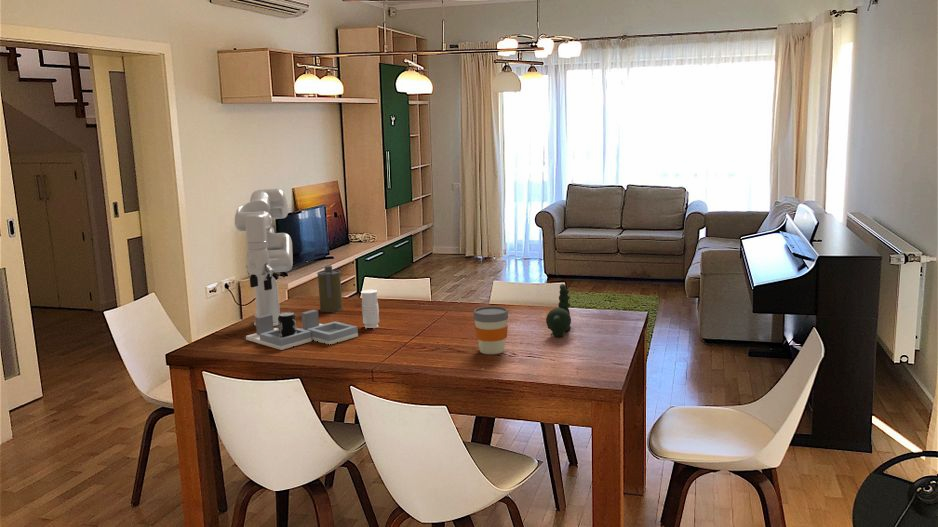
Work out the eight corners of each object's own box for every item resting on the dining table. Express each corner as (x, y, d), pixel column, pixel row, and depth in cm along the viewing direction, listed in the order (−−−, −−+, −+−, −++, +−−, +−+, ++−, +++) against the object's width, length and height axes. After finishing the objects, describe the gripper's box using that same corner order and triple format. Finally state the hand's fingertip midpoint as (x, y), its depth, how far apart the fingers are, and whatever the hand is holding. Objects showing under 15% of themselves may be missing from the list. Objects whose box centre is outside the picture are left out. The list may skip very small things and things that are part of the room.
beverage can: (292, 346, 294) (290, 316, 291) (277, 346, 295) (274, 315, 293) (300, 341, 300) (297, 311, 298) (284, 341, 301) (282, 311, 299)
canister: (320, 307, 354) (317, 264, 350) (343, 305, 355) (340, 263, 351) (318, 313, 343) (315, 269, 339) (342, 311, 344) (339, 268, 340)
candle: (369, 330, 312) (366, 294, 310) (359, 326, 318) (357, 291, 315) (383, 326, 317) (381, 291, 314) (373, 323, 322) (371, 288, 319)
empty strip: (292, 334, 309) (290, 314, 307) (320, 327, 319) (319, 307, 317) (329, 344, 293) (328, 323, 291) (358, 336, 303) (356, 315, 302)
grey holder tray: (246, 339, 305) (244, 318, 303) (276, 331, 315) (274, 311, 313) (281, 350, 289) (279, 328, 287) (311, 341, 299) (310, 320, 297)
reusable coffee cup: (475, 345, 285) (473, 306, 283) (508, 344, 285) (507, 305, 282) (474, 356, 273) (472, 315, 270) (509, 355, 273) (508, 314, 270)
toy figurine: (553, 328, 311) (543, 340, 287) (552, 282, 309) (542, 290, 285) (576, 329, 308) (568, 341, 284) (576, 282, 306) (568, 291, 282)
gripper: (236, 245, 304) (240, 287, 307) (261, 249, 292) (265, 292, 296) (253, 242, 309) (257, 283, 313) (278, 246, 298) (281, 289, 301)
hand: (261, 288), depth 304 cm, fingers open, 9 cm apart
